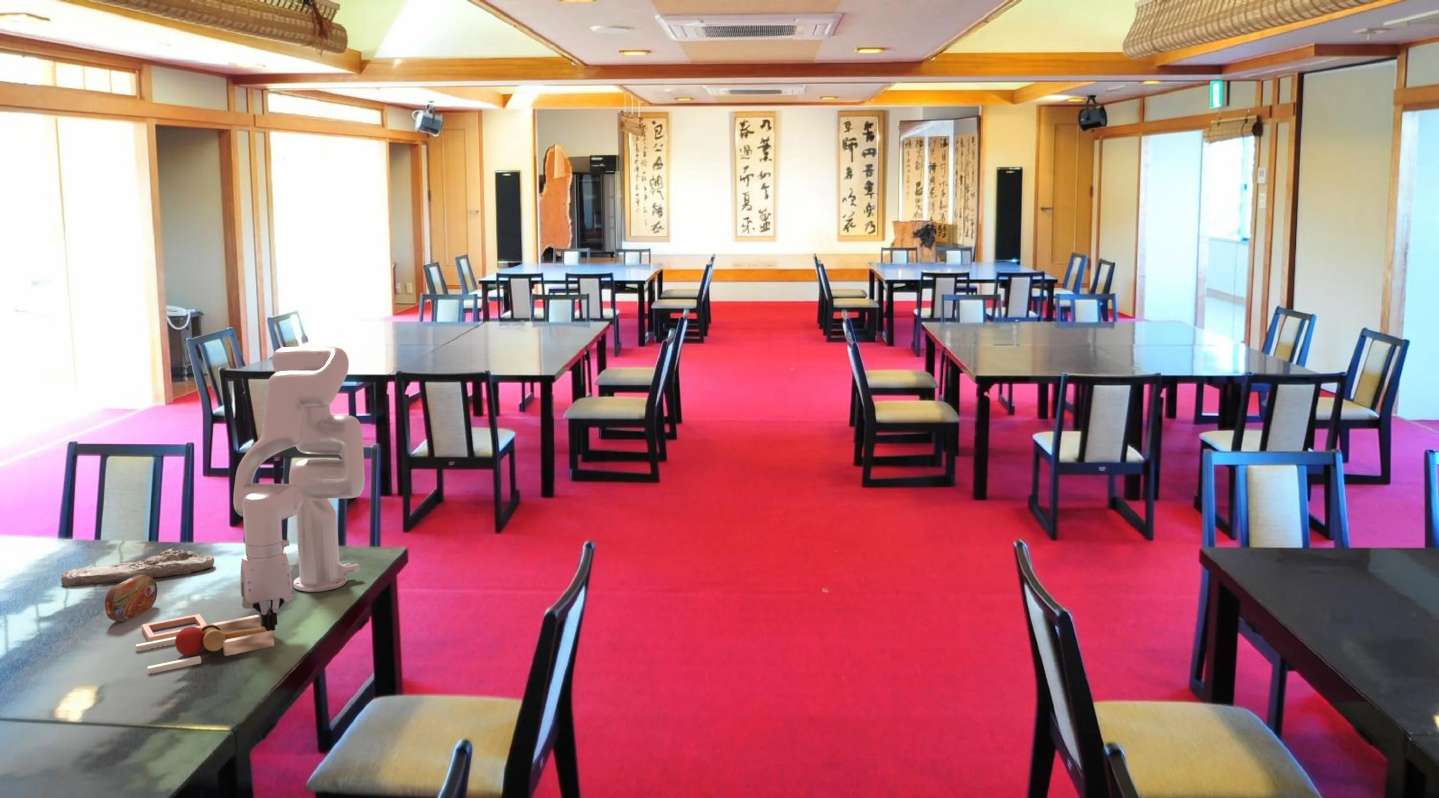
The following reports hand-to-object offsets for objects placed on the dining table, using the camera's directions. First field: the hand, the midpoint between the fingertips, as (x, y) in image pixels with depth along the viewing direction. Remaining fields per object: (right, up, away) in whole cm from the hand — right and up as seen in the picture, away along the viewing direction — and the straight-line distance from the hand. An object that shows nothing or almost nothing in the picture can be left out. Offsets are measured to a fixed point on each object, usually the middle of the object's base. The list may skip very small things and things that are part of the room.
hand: (269, 629), depth 264 cm
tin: (-36, +1, +13) cm, 38 cm away
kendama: (-8, -3, -7) cm, 11 cm away
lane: (-5, -2, -3) cm, 6 cm away
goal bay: (-17, -4, -11) cm, 21 cm away
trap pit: (-22, -1, +2) cm, 22 cm away
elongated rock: (-48, +5, +40) cm, 63 cm away
